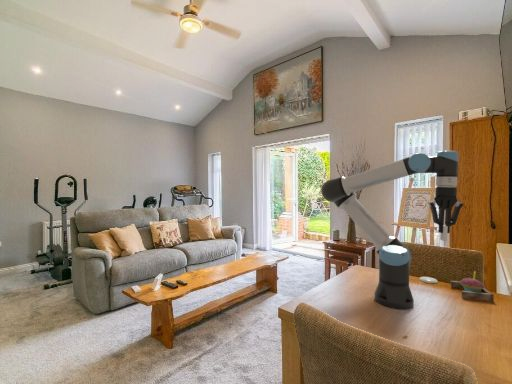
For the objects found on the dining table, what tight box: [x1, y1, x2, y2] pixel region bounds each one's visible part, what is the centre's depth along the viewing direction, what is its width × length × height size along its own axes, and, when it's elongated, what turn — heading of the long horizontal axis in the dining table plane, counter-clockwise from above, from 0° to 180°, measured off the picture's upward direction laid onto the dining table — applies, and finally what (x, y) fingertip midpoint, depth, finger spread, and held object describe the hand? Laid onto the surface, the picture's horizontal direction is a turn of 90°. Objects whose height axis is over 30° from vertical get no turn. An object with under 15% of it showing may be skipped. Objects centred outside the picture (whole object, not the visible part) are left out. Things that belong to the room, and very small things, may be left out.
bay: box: [449, 280, 495, 302], centre depth 122 cm, size 11×14×3 cm
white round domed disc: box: [419, 276, 439, 284], centre depth 139 cm, size 8×8×1 cm
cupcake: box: [459, 269, 485, 293], centre depth 122 cm, size 9×8×12 cm
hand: (443, 240), depth 115 cm, fingers closed
